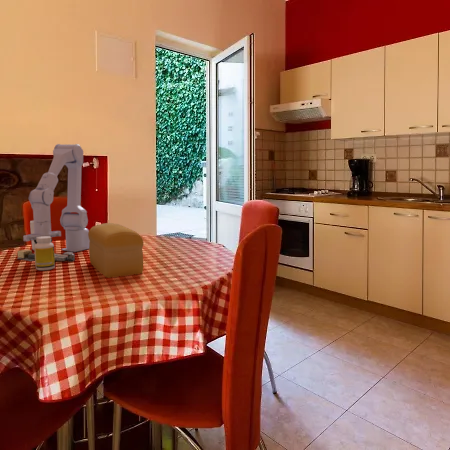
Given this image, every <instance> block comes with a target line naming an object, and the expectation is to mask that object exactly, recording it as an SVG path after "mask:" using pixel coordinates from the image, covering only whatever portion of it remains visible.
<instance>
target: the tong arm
mask: <svg viewBox="0 0 450 450" xmlns="http://www.w3.org/2000/svg"><path fill="white" fill-rule="evenodd" d="M70 254H74V252H72V251H67V252H66V251H65V252H63V253H62V255H67V256H68V255H70ZM28 259H35V253H32V254H28ZM55 261H59V262H66V261H68V260H67V257H59V256H55Z"/></svg>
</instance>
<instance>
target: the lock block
mask: <svg viewBox="0 0 450 450" xmlns="http://www.w3.org/2000/svg"><path fill="white" fill-rule="evenodd" d="M32 250H33V249H27V248H25V249H21V250H17V258H19V257H20V258H27V257H28V254H33V252H32Z"/></svg>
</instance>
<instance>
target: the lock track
mask: <svg viewBox="0 0 450 450" xmlns="http://www.w3.org/2000/svg"><path fill="white" fill-rule="evenodd" d="M17 260H23V261H28V262H35V259H28V257H27V258H20V257H17Z"/></svg>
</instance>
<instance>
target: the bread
mask: <svg viewBox="0 0 450 450" xmlns="http://www.w3.org/2000/svg"><path fill="white" fill-rule="evenodd" d="M88 231H89V232H88V237H89V241H90V242H89V249H88V251H89V255H88V256H89V262H90V264H91V265H92V266H93V267H94V268H95V269H96V270H97V271H98V272H99V273H100V274H101V273H102V274H103V275H102V274H101V275H102V276H104V277H105V278H107V279H110V278H111V277H112V278H119V276H120V277H127V276H133V275H134V274H135V275H140V273H141V274H143V270H144V254H143V252H144V251H143V247H144V239H143V237H142V236H141V234H139V232H137V231H135V230H133V229H131V228H128V227H126V226H124V225H122V224H119V223H112V222H106V223H105V222H104V223H101V224H96V225H94V226H92V227H91V228H90V229H88Z"/></svg>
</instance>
